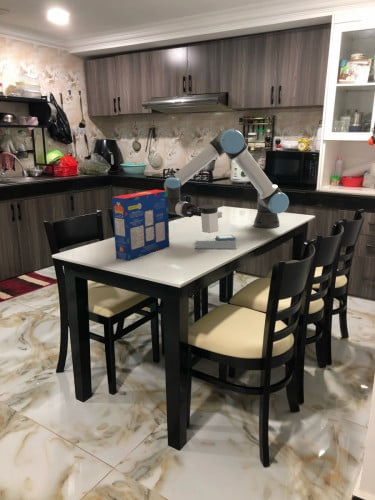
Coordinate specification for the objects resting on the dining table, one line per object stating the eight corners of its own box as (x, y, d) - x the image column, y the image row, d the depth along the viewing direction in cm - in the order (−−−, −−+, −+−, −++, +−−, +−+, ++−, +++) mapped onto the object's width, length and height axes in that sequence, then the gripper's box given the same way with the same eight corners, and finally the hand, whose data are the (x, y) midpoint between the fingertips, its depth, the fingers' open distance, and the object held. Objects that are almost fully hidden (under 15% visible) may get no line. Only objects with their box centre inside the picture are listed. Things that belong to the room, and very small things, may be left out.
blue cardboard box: (157, 244, 197) (155, 189, 190) (169, 246, 193) (167, 190, 185) (116, 258, 176) (111, 197, 168) (128, 261, 172) (124, 198, 164)
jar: (222, 228, 190) (221, 205, 186) (214, 233, 184) (212, 209, 180) (207, 226, 195) (205, 203, 191) (198, 231, 189) (196, 207, 185)
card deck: (232, 238, 209) (232, 234, 208) (235, 241, 203) (235, 237, 202) (215, 239, 207) (215, 235, 207) (219, 242, 201) (219, 238, 201)
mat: (235, 241, 200) (235, 240, 200) (236, 249, 186) (236, 248, 186) (196, 241, 201) (196, 240, 201) (195, 248, 188) (195, 248, 188)
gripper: (195, 214, 209) (229, 220, 193) (176, 218, 200) (210, 225, 184) (195, 200, 207) (229, 205, 191) (176, 203, 198) (210, 209, 182)
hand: (220, 215), depth 187 cm, fingers closed on jar
